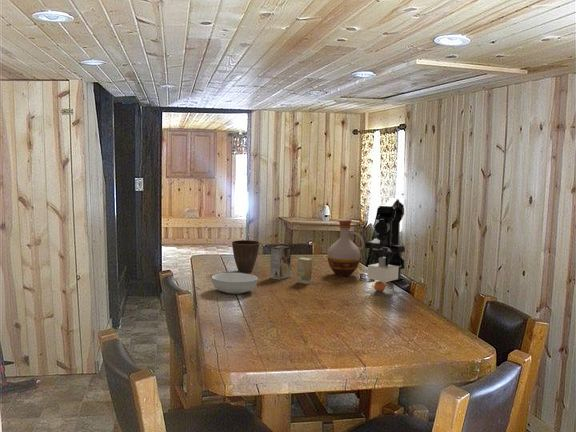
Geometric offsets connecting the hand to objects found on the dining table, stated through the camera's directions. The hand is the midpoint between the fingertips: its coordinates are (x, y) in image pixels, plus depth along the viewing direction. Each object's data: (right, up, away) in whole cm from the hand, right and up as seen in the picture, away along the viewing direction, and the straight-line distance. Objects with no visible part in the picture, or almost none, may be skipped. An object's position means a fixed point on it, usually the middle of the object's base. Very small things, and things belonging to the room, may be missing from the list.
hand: (383, 265), depth 252 cm
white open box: (0, -6, +1) cm, 6 cm away
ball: (-2, -10, +2) cm, 11 cm away
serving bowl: (-69, -12, -6) cm, 70 cm away
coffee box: (-49, -9, +27) cm, 57 cm away
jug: (-14, -9, +38) cm, 42 cm away
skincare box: (-37, -11, +17) cm, 42 cm away
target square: (0, -13, +1) cm, 13 cm away
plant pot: (-68, -7, +41) cm, 79 cm away
